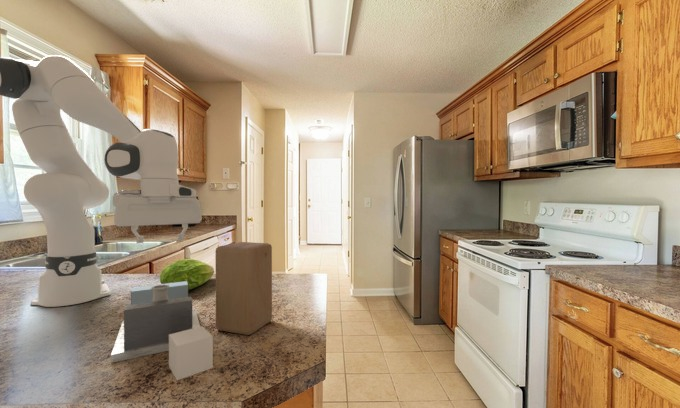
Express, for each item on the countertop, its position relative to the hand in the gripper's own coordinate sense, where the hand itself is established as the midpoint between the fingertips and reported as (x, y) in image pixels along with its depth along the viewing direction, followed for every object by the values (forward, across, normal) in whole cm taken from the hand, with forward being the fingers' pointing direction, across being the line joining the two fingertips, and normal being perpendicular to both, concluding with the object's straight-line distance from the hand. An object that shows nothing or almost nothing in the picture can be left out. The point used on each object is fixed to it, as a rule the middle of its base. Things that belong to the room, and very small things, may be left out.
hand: (160, 241), depth 83 cm
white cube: (+20, +5, -33) cm, 39 cm away
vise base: (+20, 0, -15) cm, 25 cm away
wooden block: (+20, +18, -19) cm, 33 cm away
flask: (+18, 0, -16) cm, 24 cm away
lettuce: (+20, +9, +26) cm, 34 cm away
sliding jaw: (+18, 0, -7) cm, 19 cm away
